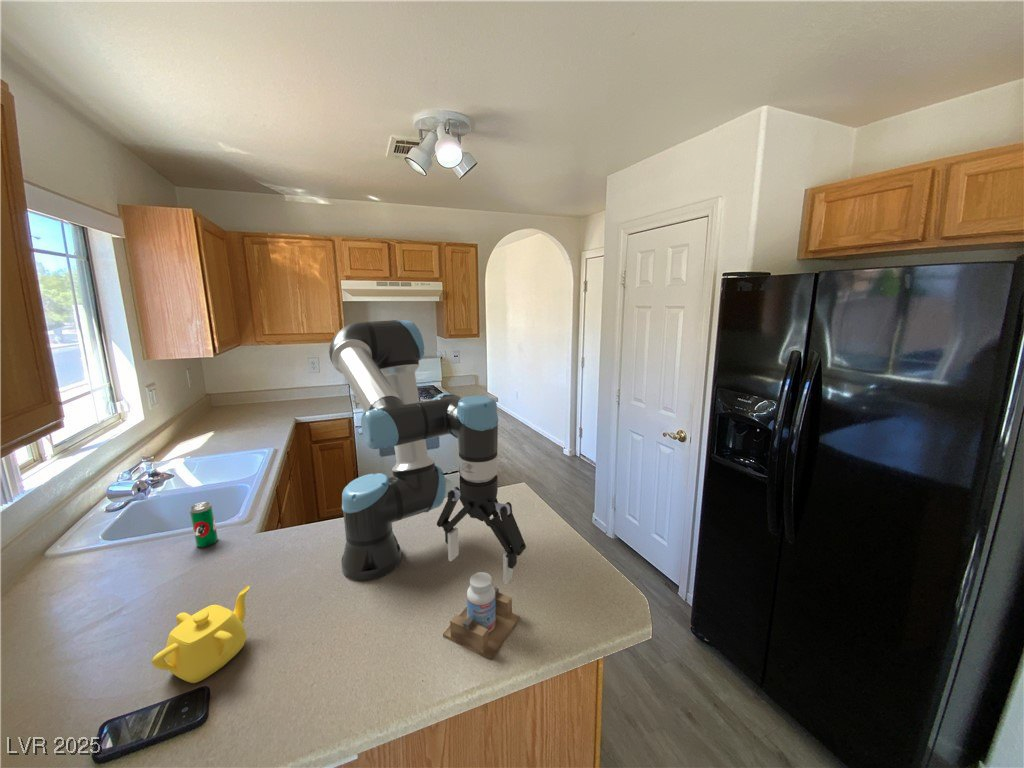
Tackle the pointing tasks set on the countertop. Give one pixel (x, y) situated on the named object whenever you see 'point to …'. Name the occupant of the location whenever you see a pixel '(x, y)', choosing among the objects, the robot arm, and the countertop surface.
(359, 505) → the robot arm
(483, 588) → the pill bottle
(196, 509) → the soda can
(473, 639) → the clip stand
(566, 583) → the countertop surface
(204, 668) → the teapot
